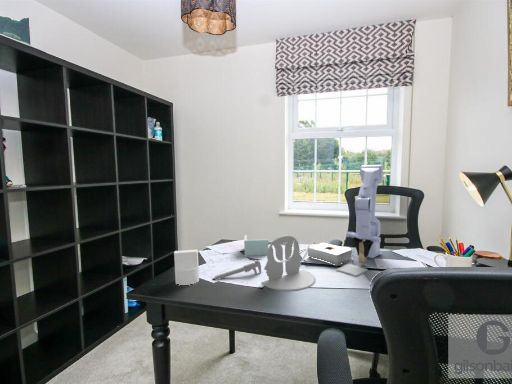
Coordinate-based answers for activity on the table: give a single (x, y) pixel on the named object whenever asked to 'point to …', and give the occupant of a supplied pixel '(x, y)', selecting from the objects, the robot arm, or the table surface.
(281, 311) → the table surface
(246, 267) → the caliper
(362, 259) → the long tan rectangular block
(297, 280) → the ornament
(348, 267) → the pad
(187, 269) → the white rounded upright block
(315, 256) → the guard box
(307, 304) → the table surface
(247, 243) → the l-shaped corner panel
